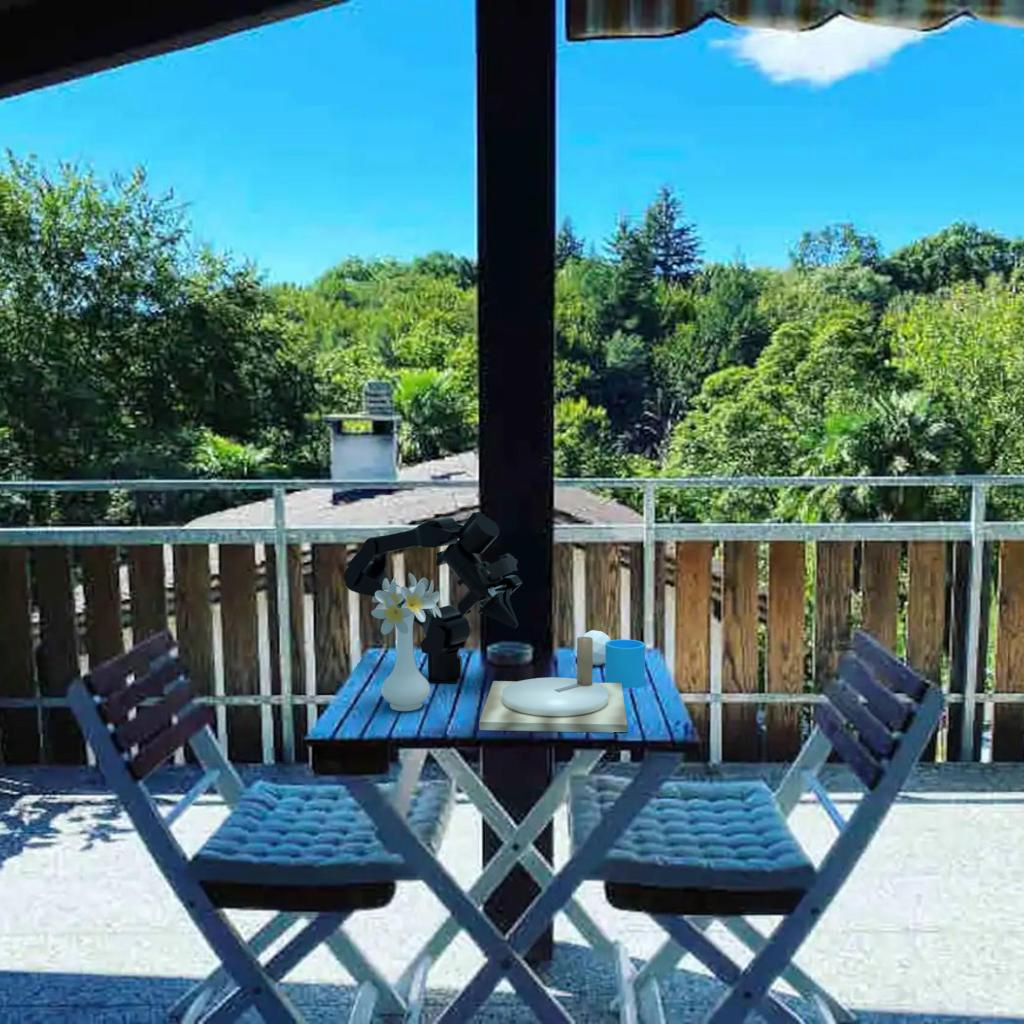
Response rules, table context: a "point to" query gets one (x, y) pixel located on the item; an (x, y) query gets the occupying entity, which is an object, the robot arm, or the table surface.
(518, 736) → the table surface
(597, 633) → the ball
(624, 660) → the mug
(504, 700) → the dial
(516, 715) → the dial board
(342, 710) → the table surface
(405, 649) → the flower vase
